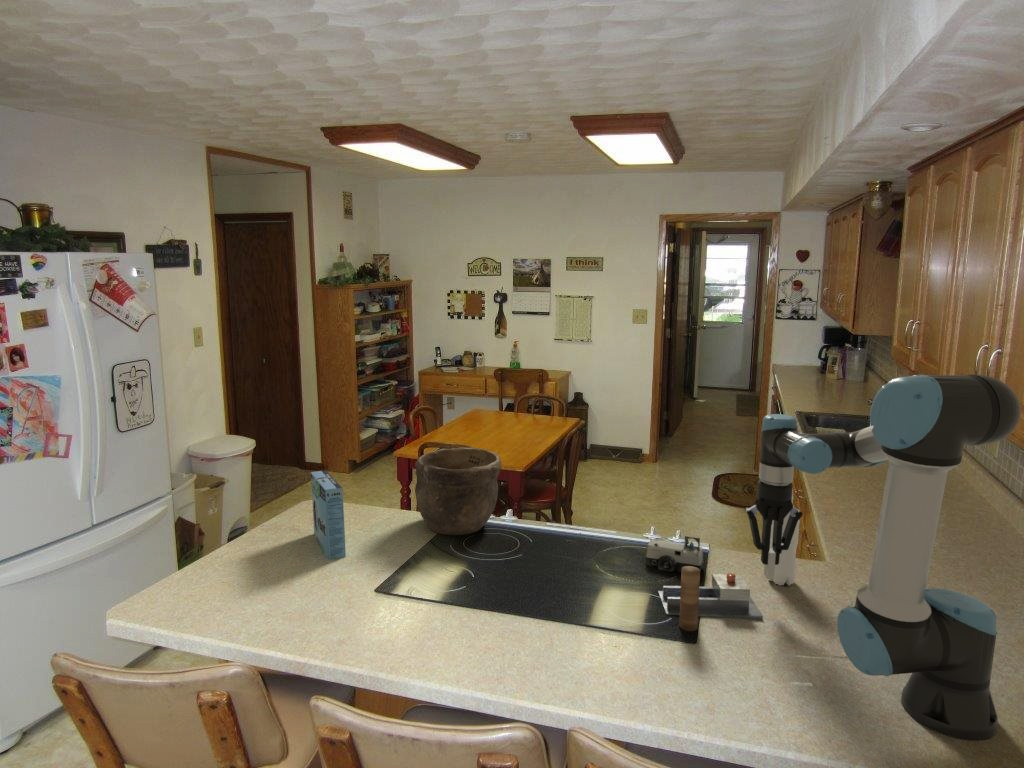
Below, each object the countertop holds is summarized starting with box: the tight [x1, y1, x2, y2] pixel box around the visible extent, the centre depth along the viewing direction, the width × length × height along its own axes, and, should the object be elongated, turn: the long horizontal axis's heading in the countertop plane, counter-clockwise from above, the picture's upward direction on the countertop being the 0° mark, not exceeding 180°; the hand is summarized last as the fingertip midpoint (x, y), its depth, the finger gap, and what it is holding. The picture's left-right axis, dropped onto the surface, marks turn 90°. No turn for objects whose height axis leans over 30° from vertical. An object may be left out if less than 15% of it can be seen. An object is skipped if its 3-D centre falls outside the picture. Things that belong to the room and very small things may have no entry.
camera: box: [645, 534, 705, 573], centre depth 189 cm, size 15×8×10 cm, turn 65°
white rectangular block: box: [711, 573, 751, 601], centre depth 168 cm, size 8×7×4 cm
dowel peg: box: [678, 566, 701, 632], centre depth 157 cm, size 4×4×14 cm
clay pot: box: [414, 447, 502, 536], centre depth 212 cm, size 26×26×25 cm
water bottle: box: [768, 489, 801, 586], centre depth 181 cm, size 7×7×25 cm
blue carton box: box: [310, 470, 347, 560], centre depth 195 cm, size 20×5×23 cm, turn 26°
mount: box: [658, 585, 764, 621], centre depth 169 cm, size 12×22×4 cm, turn 88°
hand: (768, 576), depth 168 cm, fingers closed
